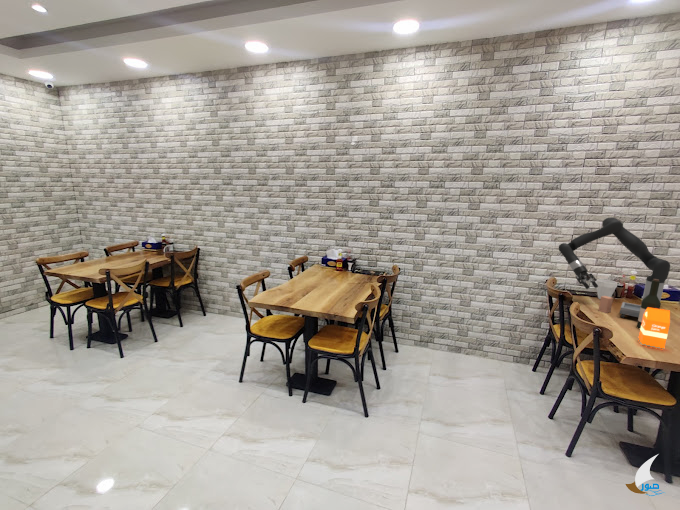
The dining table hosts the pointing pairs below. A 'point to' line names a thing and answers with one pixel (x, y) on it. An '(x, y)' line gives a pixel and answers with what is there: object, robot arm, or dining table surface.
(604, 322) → the dining table surface
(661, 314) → the orange juice
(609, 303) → the terracotta block
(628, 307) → the grey square tray
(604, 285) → the cup
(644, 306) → the wine bottle
